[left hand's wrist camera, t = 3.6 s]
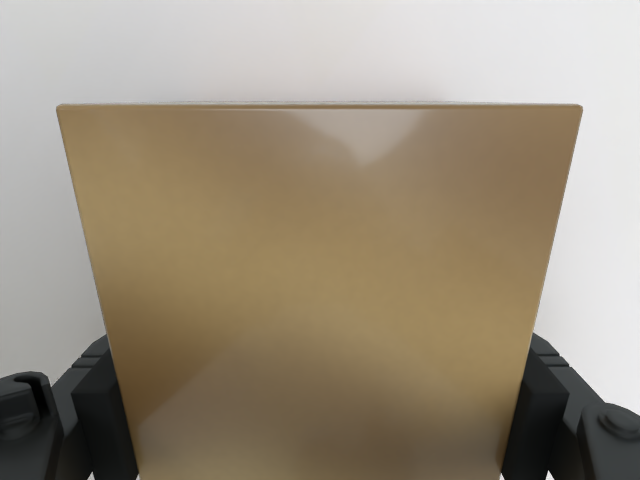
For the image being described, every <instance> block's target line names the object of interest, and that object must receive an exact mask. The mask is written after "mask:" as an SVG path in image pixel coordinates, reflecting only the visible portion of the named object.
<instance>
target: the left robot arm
mask: <svg viewBox="0 0 640 480" xmlns="http://www.w3.org/2000/svg"><path fill="white" fill-rule="evenodd" d="M548 470H549V472H550V473H551V475H552V477H553V478H554V480H640V416H639V415H637V414H635V413H634V412H632V411H630V410H628V409H626V408H623V407H620V406H618V405H615V404H611V403H605V402H604V401H603V400H602V399H601V398H600V397H599V396H598V395H597V393H596V392H595V391H594V390H593V389H592V388H591V387H590V386H589V385H588V384H587V383H586V382H585V381H584V380H583V379H582V378H581V376H580V375H579V374H578V373H577V372H576V371H575V370H574V369H573V368H572V367H569V364H568V363H567V362H566V360H565V359H564V358H563V357H562V356H559V353H558V352H557V351H556V350H555V349H554V348H553V347H552V346H551V345H550V343H549V342H548V341H546V340H544V339H543V338H541V337H539V336H538V335H536V334H535V333H533V334H532V338H531V342H530V347H529V351H528V356H527V360H526V365H525V369H524V373H523V378H522V382H521V387H520V391H519V396H518V400H517V404H516V409H515V413H514V418H513V422H512V427H511V431H510V435H509V440H508V444H507V449H506V453H505V458H504V462H503V466H502V471H501V473H502V475H503V477H504V479H505V480H546V476H547V473H548ZM92 471H93V475H94V478H95V480H136V478H137V476H138V474H139V473H138V468H137V464H136V459H135V455H134V451H133V446H132V442H131V437H130V433H129V428H128V424H127V420H126V415H125V411H124V406H123V402H122V398H121V393H120V389H119V384H118V380H117V377H116V372H115V368H114V364H113V359H112V355H111V350H110V346H109V342H108V337H107V334H106V335H105V336H103V337H101V338H100V339H98V340H97V341H95V342H93V343H92V344H91V345H90V346H89V347H88V349H87V350H86V351H85V352H84V353H83V354H82V355H81V358H78V359H77V360H76V361H75V362H74V364H73V365H72V367H71V368H69V369H68V370H67V371H66V372H65V373H64V374H63V375H62V376H61V377H60V379H59V380H58V381H57V382H56V383H55V384H54V385H53V386H52V387H51V386H50V383H49V379H48V377H47V376H46V375H44V374H43V373H41V372H32V371H30V372H23V373H16V374H13V375H10V376H7V377H4V378H1V379H0V480H87V479H88V477H89V476H90V474H91V473H92Z"/></svg>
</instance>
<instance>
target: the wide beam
mask: <svg viewBox="0 0 640 480" xmlns="http://www.w3.org/2000/svg"><path fill="white" fill-rule="evenodd" d="M56 112H57V117H58V121H59V126H60V130H61V134H62V139H63V143H64V148H65V152H66V156H67V161H68V165H69V170H70V174H71V178H72V183H73V187H74V192H75V196H76V200H77V205H78V209H79V214H80V218H81V223H82V227H83V231H84V236H85V240H86V245H87V249H88V253H89V258H90V262H91V267H92V271H93V275H94V280H95V284H96V289H97V293H98V297H99V302H100V306H101V311H102V315H103V320H104V324H105V328H106V333H107V337H108V342H109V346H110V350H111V355H112V359H113V364H114V368H115V372H116V377H117V380H118V384H119V389H120V393H121V398H122V402H123V406H124V411H125V415H126V420H127V424H128V428H129V433H130V437H131V442H132V446H133V451H134V455H135V459H136V464H137V468H138V473H139V478H140V480H500V475H501V471H502V466H503V462H504V458H505V453H506V449H507V444H508V440H509V435H510V431H511V427H512V422H513V418H514V413H515V409H516V404H517V400H518V396H519V391H520V387H521V382H522V378H523V373H524V369H525V365H526V360H527V356H528V351H529V347H530V342H531V338H532V334H533V329H534V325H535V320H536V316H537V312H538V307H539V303H540V298H541V294H542V289H543V285H544V281H545V276H546V272H547V267H548V263H549V258H550V254H551V250H552V245H553V241H554V236H555V232H556V227H557V223H558V219H559V214H560V210H561V205H562V201H563V196H564V192H565V188H566V183H567V179H568V174H569V170H570V166H571V161H572V157H573V152H574V148H575V143H576V139H577V135H578V130H579V126H580V121H581V117H582V112H583V107H582V106H581V105H578V104H551V103H492V102H146V103H88V104H61V105H59V106H57V107H56Z"/></svg>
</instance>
